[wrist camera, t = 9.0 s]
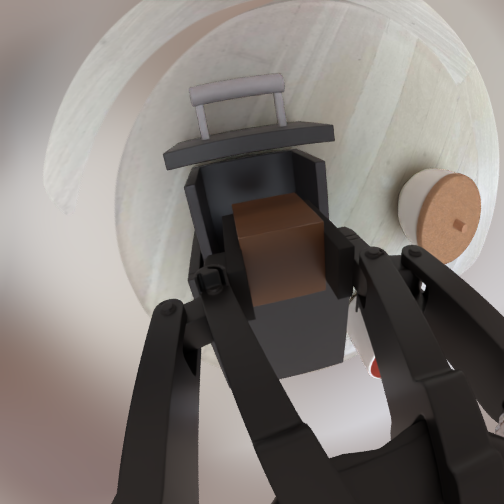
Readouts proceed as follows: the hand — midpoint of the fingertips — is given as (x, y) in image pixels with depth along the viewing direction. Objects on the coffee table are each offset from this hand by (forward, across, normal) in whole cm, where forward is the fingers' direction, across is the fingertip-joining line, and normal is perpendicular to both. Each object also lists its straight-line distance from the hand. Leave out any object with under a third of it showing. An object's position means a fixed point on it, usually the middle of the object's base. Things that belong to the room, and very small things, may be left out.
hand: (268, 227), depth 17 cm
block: (0, 0, 0) cm, 0 cm away
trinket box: (+11, +21, -5) cm, 24 cm away
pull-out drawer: (+10, 0, +1) cm, 10 cm away
